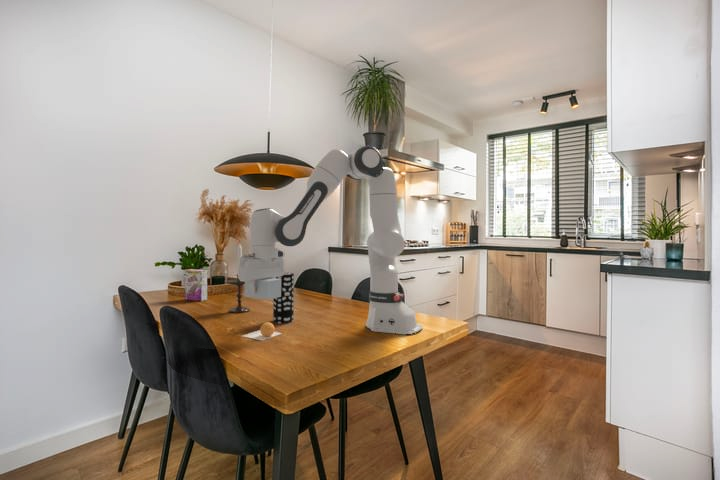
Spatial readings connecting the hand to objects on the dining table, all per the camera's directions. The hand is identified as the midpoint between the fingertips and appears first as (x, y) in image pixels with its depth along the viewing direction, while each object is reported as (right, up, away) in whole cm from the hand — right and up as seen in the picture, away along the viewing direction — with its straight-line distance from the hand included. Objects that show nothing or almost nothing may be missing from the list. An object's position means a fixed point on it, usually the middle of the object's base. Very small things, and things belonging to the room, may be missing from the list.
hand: (262, 291), depth 131 cm
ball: (+2, -14, -1) cm, 14 cm away
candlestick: (-21, -15, +39) cm, 47 cm away
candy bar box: (-53, -14, +64) cm, 85 cm away
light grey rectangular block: (0, -2, 0) cm, 2 cm away
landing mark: (0, -16, 0) cm, 16 cm away
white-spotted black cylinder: (+3, -16, +21) cm, 27 cm away
